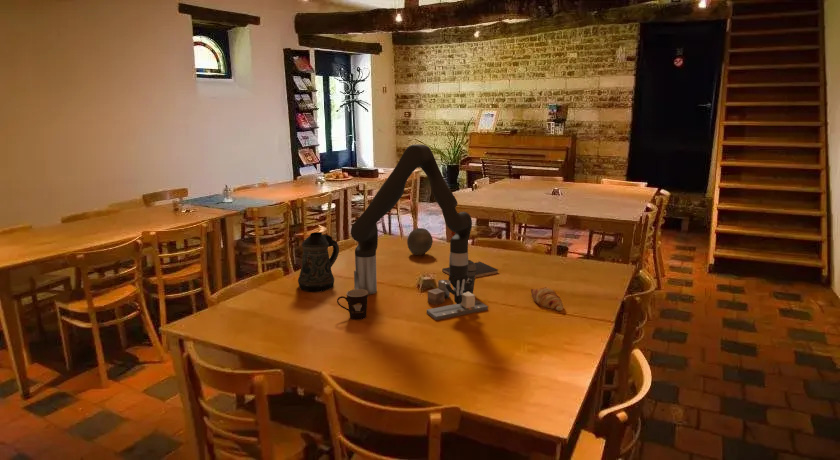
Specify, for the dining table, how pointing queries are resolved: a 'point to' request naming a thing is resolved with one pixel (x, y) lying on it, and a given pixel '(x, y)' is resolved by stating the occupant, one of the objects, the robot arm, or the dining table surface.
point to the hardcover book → (479, 269)
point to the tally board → (455, 310)
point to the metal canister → (443, 288)
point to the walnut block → (436, 296)
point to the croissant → (547, 298)
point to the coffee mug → (356, 303)
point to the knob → (468, 300)
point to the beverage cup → (471, 274)
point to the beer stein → (317, 263)
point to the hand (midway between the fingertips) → (458, 303)
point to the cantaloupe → (419, 241)
